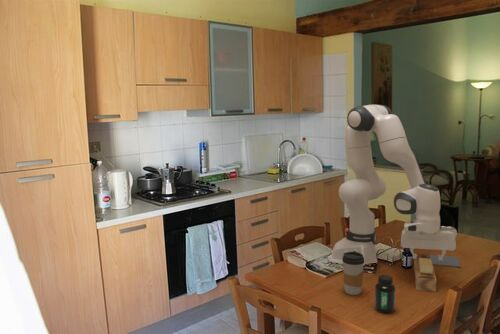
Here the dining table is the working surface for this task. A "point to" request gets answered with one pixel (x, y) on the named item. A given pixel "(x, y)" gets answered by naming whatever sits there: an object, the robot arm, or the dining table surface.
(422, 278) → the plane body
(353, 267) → the coffee cup
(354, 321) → the dining table surface
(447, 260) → the mat
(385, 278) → the supplement bottle
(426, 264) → the beige rectangular block
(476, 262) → the dining table surface
